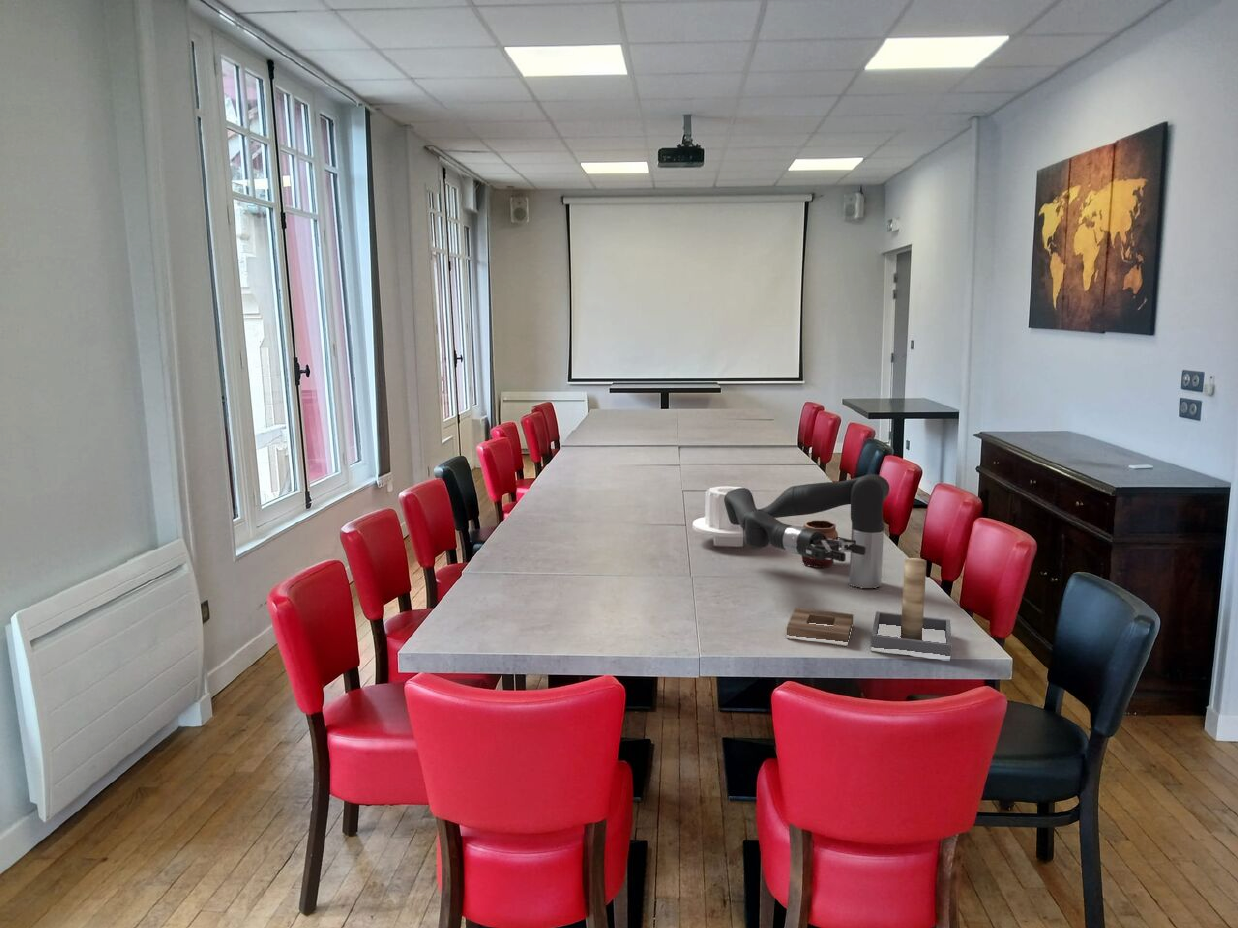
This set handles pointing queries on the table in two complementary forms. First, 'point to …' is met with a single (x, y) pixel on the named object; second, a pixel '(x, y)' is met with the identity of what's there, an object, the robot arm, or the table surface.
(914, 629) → the beech dowel
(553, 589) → the table surface
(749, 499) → the robot arm
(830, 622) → the walnut socket block
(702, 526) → the lamp base
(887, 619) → the slate grey tray
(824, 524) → the decorative planter
